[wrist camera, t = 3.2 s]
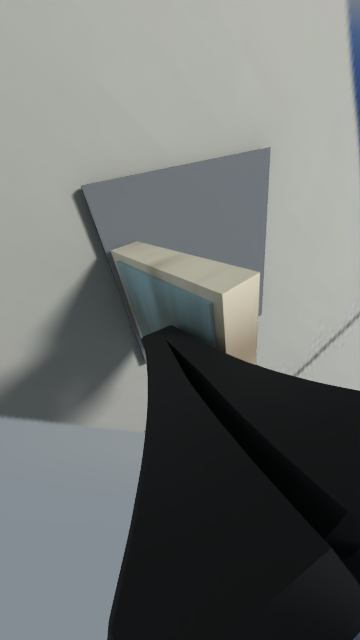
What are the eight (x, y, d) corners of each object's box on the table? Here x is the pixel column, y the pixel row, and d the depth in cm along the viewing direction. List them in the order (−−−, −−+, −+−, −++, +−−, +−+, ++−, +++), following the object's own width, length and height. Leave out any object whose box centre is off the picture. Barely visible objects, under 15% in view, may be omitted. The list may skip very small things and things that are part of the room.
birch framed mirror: (160, 326, 16) (254, 395, 10) (139, 338, 15) (228, 421, 9) (136, 241, 12) (259, 272, 6) (107, 251, 11) (218, 296, 6)
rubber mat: (258, 312, 20) (261, 314, 20) (145, 362, 17) (147, 366, 17) (265, 148, 13) (270, 147, 13) (80, 185, 10) (81, 185, 10)
